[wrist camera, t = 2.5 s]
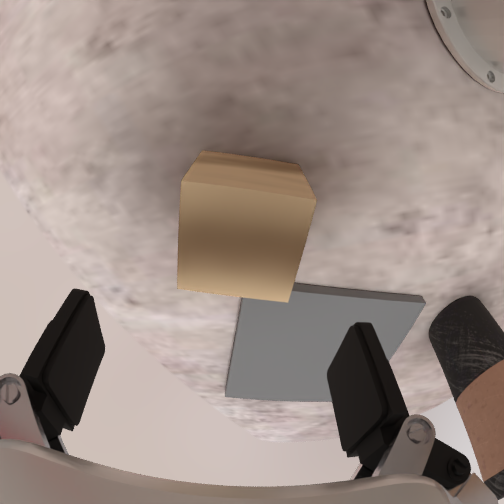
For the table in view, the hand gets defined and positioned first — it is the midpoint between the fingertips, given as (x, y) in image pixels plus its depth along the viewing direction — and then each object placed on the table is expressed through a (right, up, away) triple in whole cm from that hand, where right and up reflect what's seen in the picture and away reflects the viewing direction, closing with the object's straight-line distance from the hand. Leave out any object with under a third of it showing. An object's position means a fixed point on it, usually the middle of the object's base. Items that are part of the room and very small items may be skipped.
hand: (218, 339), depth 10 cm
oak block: (+1, +6, +9) cm, 11 cm away
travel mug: (+23, -4, +16) cm, 28 cm away
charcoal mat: (+7, -7, +17) cm, 20 cm away
